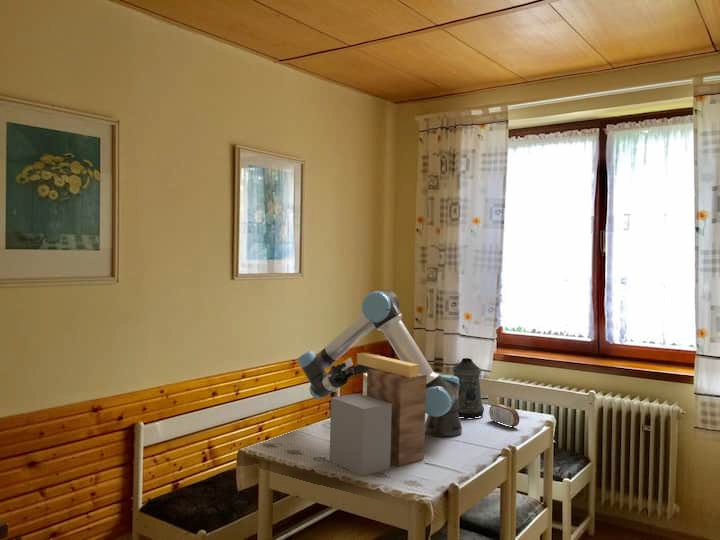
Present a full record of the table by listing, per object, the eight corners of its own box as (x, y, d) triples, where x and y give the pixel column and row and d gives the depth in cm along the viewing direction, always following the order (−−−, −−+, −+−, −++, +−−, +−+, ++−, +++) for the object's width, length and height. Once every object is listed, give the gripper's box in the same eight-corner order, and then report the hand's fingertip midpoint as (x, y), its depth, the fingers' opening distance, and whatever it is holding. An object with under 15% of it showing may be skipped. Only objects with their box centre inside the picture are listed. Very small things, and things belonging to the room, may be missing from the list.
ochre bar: (356, 363, 235) (357, 353, 234) (365, 362, 237) (365, 352, 237) (409, 377, 212) (410, 365, 212) (418, 376, 215) (418, 364, 214)
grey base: (329, 460, 214) (331, 397, 214) (356, 454, 222) (358, 393, 221) (362, 476, 200) (364, 408, 200) (389, 468, 208) (391, 403, 207)
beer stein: (459, 420, 269) (461, 363, 268) (436, 409, 287) (438, 356, 286) (491, 417, 276) (493, 361, 275) (466, 407, 294) (468, 354, 293)
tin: (519, 429, 260) (520, 409, 259) (514, 430, 258) (515, 410, 257) (492, 420, 272) (493, 401, 272) (487, 421, 270) (488, 402, 270)
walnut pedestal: (365, 452, 225) (367, 369, 223) (389, 446, 232) (392, 366, 231) (398, 466, 211) (401, 378, 210) (423, 459, 218) (426, 374, 217)
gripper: (362, 384, 254) (393, 365, 240) (312, 391, 239) (341, 372, 224) (357, 366, 257) (387, 347, 242) (307, 373, 241) (336, 352, 227)
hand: (365, 359), depth 233 cm, fingers open, 13 cm apart
